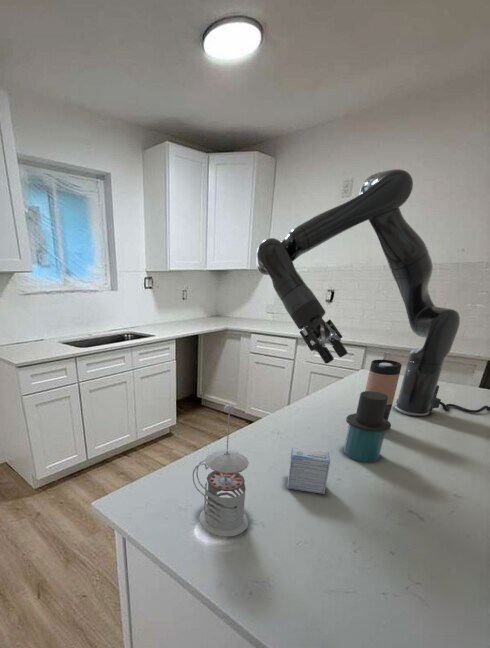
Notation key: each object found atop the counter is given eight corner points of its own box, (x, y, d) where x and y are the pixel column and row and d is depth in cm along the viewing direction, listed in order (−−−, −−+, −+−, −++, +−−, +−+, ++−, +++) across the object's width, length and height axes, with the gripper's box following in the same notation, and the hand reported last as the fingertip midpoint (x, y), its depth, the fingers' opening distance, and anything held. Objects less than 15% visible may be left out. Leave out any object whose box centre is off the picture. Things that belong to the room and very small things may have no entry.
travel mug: (379, 421, 113) (394, 359, 105) (390, 432, 106) (407, 366, 98) (353, 421, 114) (366, 359, 106) (363, 431, 107) (378, 366, 99)
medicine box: (323, 484, 83) (329, 451, 80) (324, 495, 79) (330, 461, 76) (287, 478, 86) (291, 446, 82) (286, 489, 82) (291, 455, 78)
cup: (365, 445, 99) (372, 415, 96) (385, 460, 92) (393, 429, 88) (337, 447, 99) (343, 417, 95) (355, 463, 91) (362, 431, 87)
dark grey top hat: (372, 421, 97) (380, 387, 93) (398, 437, 88) (407, 401, 84) (337, 423, 96) (343, 389, 93) (359, 440, 87) (367, 403, 83)
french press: (237, 543, 67) (246, 420, 57) (182, 522, 72) (182, 407, 62) (255, 513, 74) (266, 400, 64) (204, 496, 80) (207, 390, 70)
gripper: (301, 299, 87) (338, 355, 85) (326, 295, 96) (361, 345, 94) (278, 319, 93) (312, 372, 91) (304, 313, 102) (336, 361, 100)
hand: (337, 358), depth 92 cm, fingers open, 8 cm apart
